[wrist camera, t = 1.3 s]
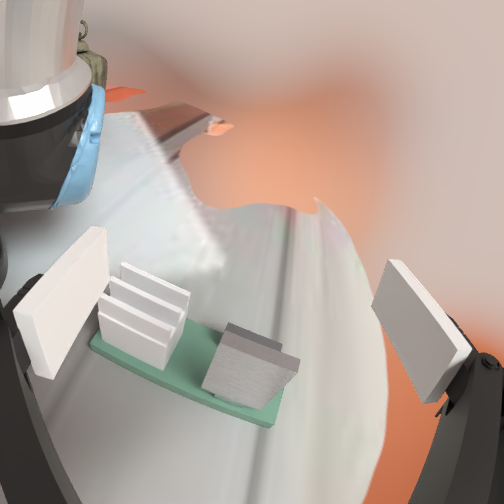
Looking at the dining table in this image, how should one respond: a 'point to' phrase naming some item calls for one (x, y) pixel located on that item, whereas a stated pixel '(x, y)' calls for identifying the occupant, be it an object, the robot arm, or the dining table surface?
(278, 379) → the plate
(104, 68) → the tabletop clock
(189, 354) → the heat-sink mount
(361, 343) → the dining table surface
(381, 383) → the dining table surface
